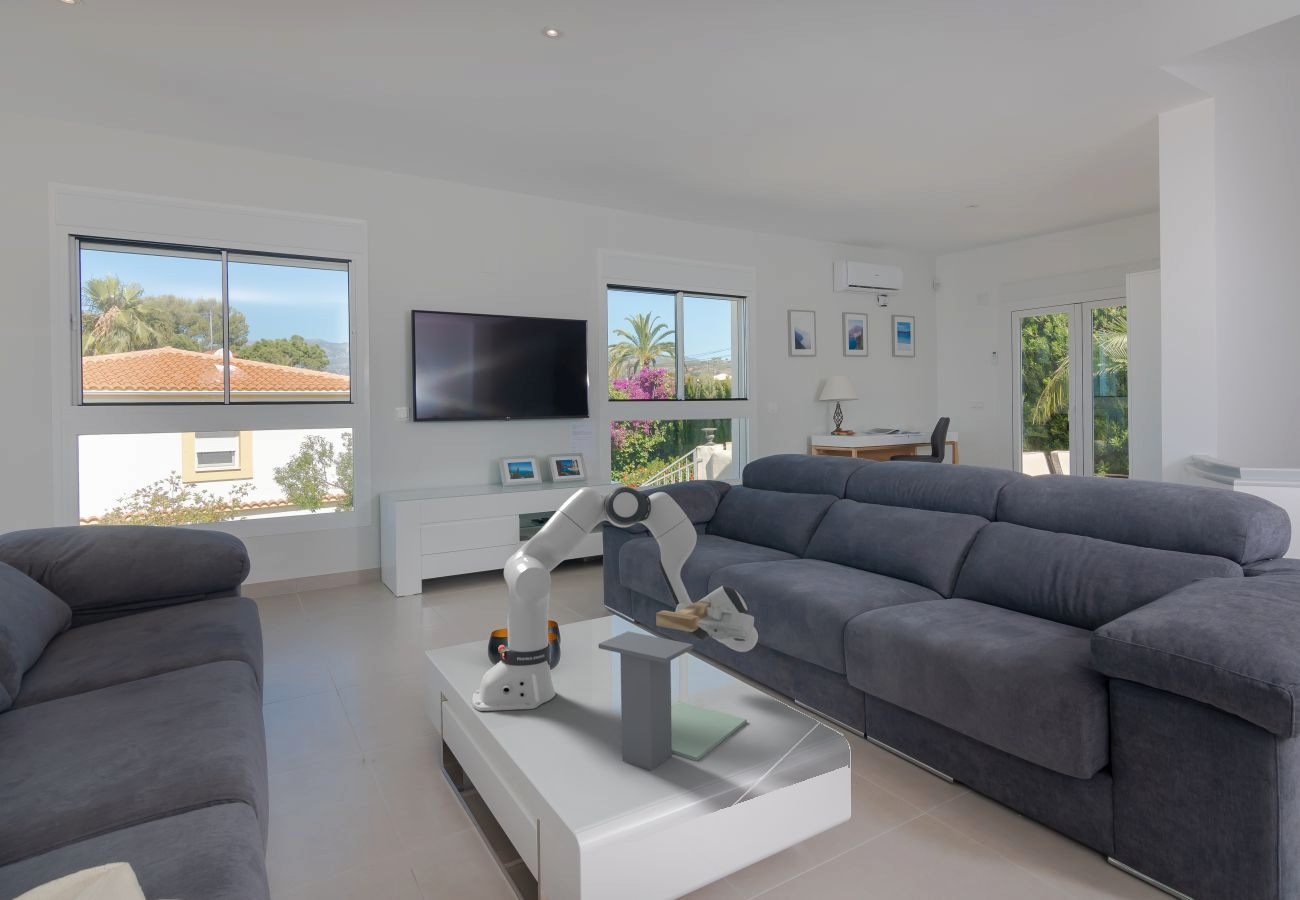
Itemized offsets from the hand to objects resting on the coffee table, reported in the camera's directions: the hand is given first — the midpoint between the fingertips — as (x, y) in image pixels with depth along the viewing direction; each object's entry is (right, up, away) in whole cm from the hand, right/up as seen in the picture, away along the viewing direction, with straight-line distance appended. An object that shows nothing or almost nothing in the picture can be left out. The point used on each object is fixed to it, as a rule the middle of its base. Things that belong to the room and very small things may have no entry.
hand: (699, 609), depth 176 cm
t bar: (-2, -2, -3) cm, 5 cm away
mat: (-3, -29, -4) cm, 29 cm away
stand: (-13, -29, -18) cm, 37 cm away
